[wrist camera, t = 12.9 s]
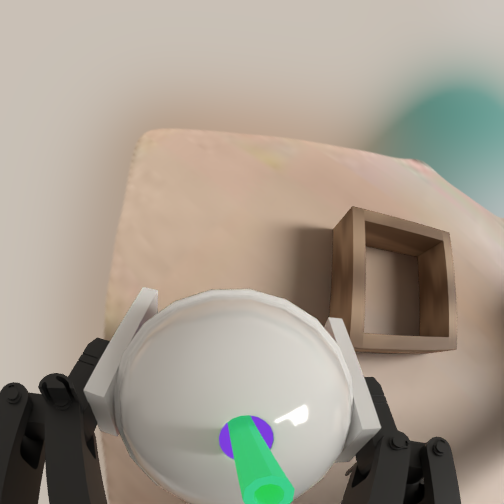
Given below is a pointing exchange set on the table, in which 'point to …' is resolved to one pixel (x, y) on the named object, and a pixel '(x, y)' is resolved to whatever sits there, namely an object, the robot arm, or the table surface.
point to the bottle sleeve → (430, 280)
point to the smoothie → (233, 399)
